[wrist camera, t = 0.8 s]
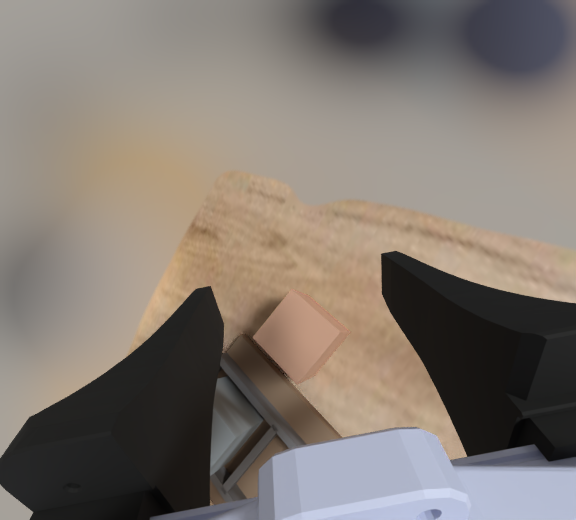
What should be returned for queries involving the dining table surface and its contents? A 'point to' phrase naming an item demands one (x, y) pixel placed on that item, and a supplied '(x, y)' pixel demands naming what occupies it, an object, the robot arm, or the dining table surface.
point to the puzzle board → (282, 402)
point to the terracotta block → (300, 336)
